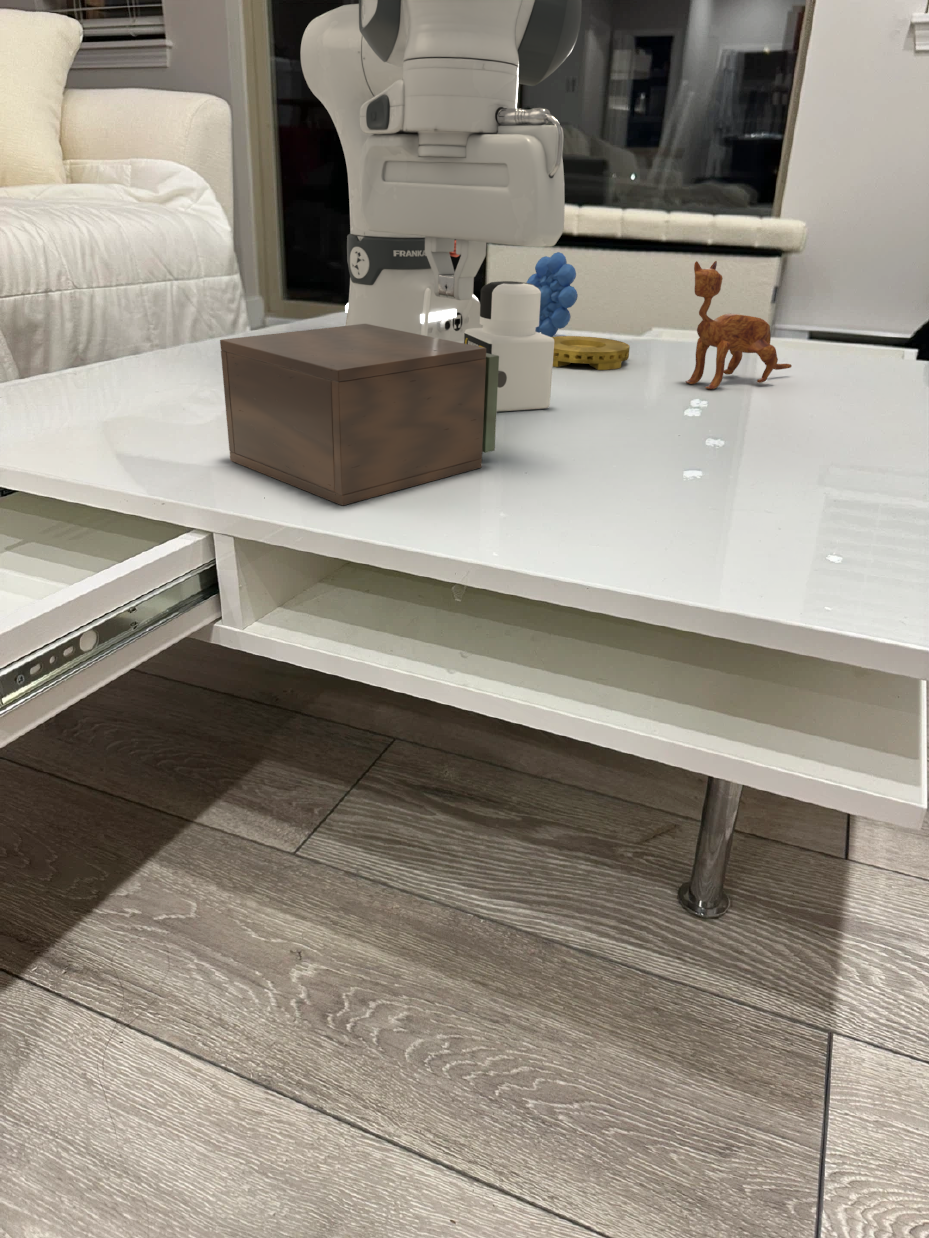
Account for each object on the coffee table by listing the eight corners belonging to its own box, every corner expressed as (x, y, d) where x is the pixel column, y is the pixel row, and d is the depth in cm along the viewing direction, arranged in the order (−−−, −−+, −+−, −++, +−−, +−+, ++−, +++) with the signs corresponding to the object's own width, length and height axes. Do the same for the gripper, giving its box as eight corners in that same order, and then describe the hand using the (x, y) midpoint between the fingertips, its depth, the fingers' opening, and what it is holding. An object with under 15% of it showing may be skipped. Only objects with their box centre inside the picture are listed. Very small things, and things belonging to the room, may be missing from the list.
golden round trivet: (629, 356, 123) (631, 339, 122) (625, 372, 112) (627, 354, 111) (542, 350, 125) (543, 333, 124) (529, 366, 114) (531, 348, 113)
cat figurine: (768, 371, 116) (789, 256, 110) (810, 381, 111) (834, 262, 105) (663, 382, 108) (679, 259, 101) (703, 394, 103) (722, 265, 96)
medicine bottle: (461, 397, 97) (464, 279, 92) (521, 394, 100) (528, 278, 94) (487, 413, 91) (492, 287, 86) (550, 409, 94) (559, 286, 88)
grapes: (594, 343, 131) (602, 254, 126) (556, 345, 128) (563, 255, 123) (548, 330, 140) (554, 247, 135) (512, 333, 137) (516, 247, 132)
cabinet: (367, 431, 83) (365, 323, 79) (481, 467, 74) (486, 347, 70) (229, 460, 74) (219, 339, 70) (342, 506, 65) (338, 370, 61)
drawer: (426, 412, 87) (427, 328, 84) (531, 441, 79) (537, 349, 75) (267, 444, 75) (260, 348, 72) (371, 482, 67) (370, 376, 64)
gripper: (591, 110, 65) (573, 310, 71) (403, 115, 78) (401, 284, 84) (534, 103, 61) (520, 315, 67) (345, 108, 74) (348, 287, 80)
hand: (453, 298), depth 76 cm, fingers closed
